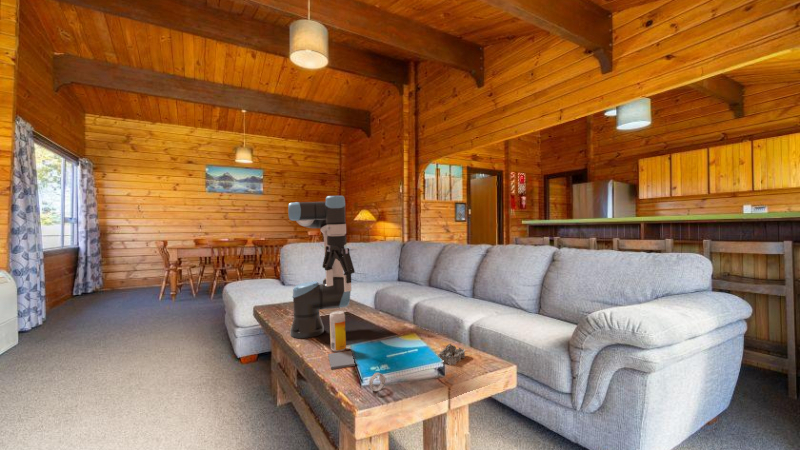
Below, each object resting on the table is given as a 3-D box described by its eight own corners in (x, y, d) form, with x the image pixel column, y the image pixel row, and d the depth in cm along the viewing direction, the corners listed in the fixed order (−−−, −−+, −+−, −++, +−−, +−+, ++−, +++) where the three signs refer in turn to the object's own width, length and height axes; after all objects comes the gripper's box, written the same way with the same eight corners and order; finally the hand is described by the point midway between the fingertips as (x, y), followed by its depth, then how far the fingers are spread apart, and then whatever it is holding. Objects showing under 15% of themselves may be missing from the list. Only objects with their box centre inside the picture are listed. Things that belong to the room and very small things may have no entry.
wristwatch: (386, 388, 109) (385, 372, 109) (373, 394, 106) (373, 377, 106) (380, 385, 111) (379, 369, 111) (367, 391, 108) (367, 375, 108)
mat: (328, 355, 138) (328, 353, 138) (351, 352, 140) (351, 350, 140) (331, 369, 125) (331, 367, 125) (356, 365, 128) (356, 363, 128)
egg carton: (450, 353, 137) (450, 342, 137) (468, 357, 132) (468, 346, 132) (435, 362, 129) (434, 350, 129) (453, 367, 124) (452, 355, 124)
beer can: (349, 348, 145) (347, 311, 145) (339, 353, 140) (337, 315, 140) (337, 346, 148) (336, 309, 148) (327, 350, 143) (326, 313, 143)
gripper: (312, 234, 148) (314, 285, 149) (345, 237, 129) (347, 295, 130) (328, 233, 153) (330, 282, 154) (362, 235, 134) (364, 291, 135)
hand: (338, 288), depth 142 cm, fingers open, 13 cm apart
